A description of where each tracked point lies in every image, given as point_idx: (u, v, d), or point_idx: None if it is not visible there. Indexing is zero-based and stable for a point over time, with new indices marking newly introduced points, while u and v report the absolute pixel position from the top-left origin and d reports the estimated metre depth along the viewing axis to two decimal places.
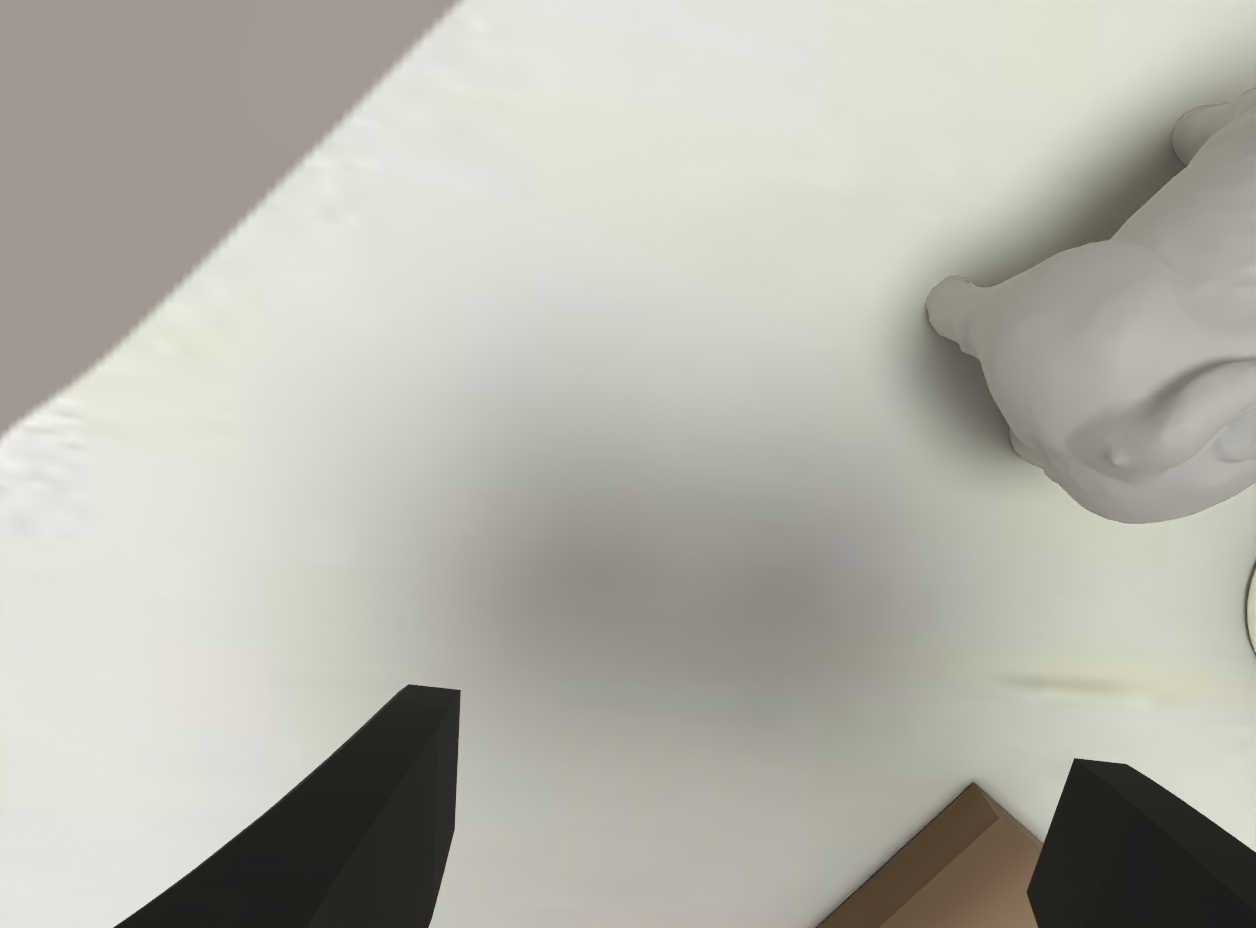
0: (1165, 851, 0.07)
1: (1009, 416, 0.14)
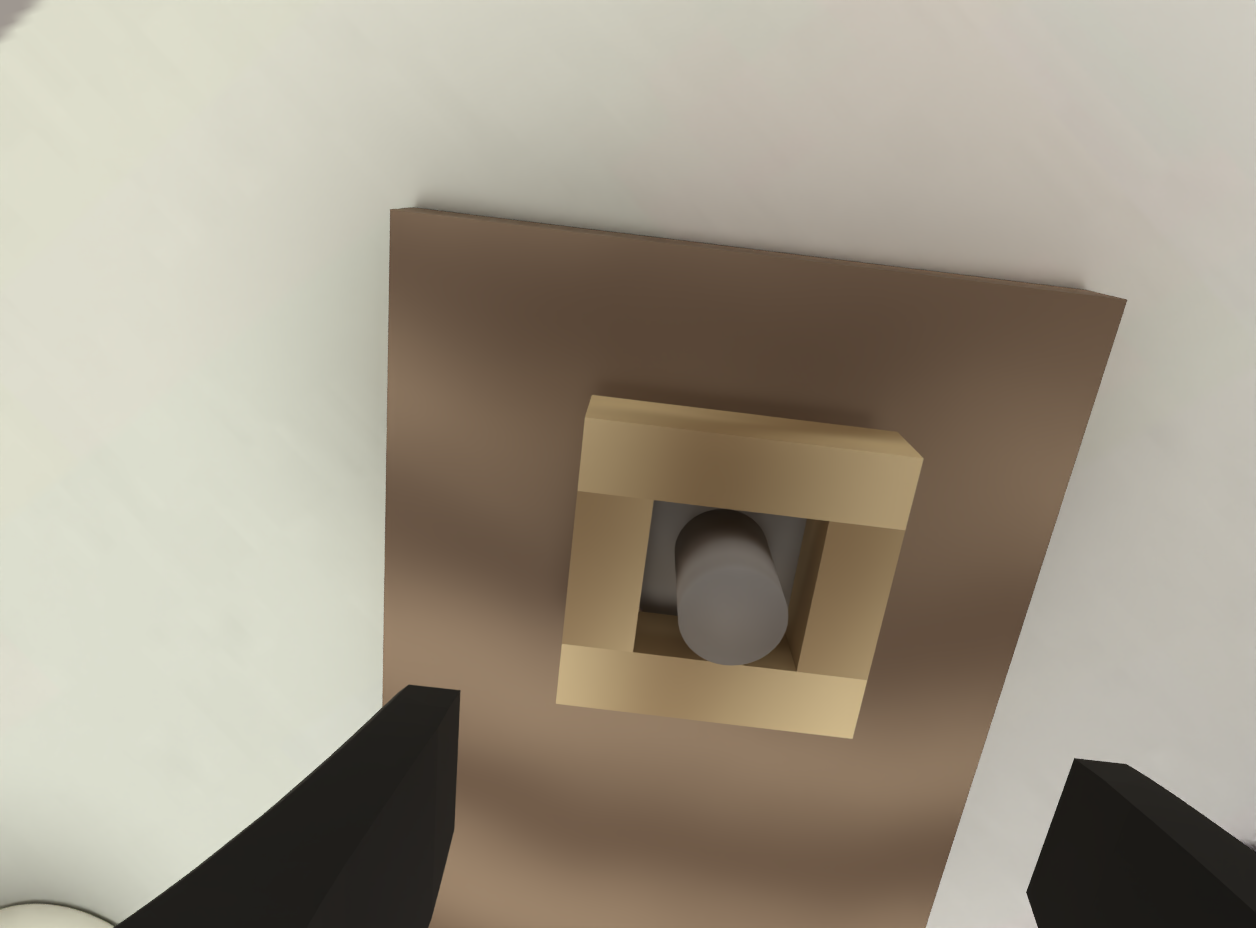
0: (1165, 850, 0.07)
1: None
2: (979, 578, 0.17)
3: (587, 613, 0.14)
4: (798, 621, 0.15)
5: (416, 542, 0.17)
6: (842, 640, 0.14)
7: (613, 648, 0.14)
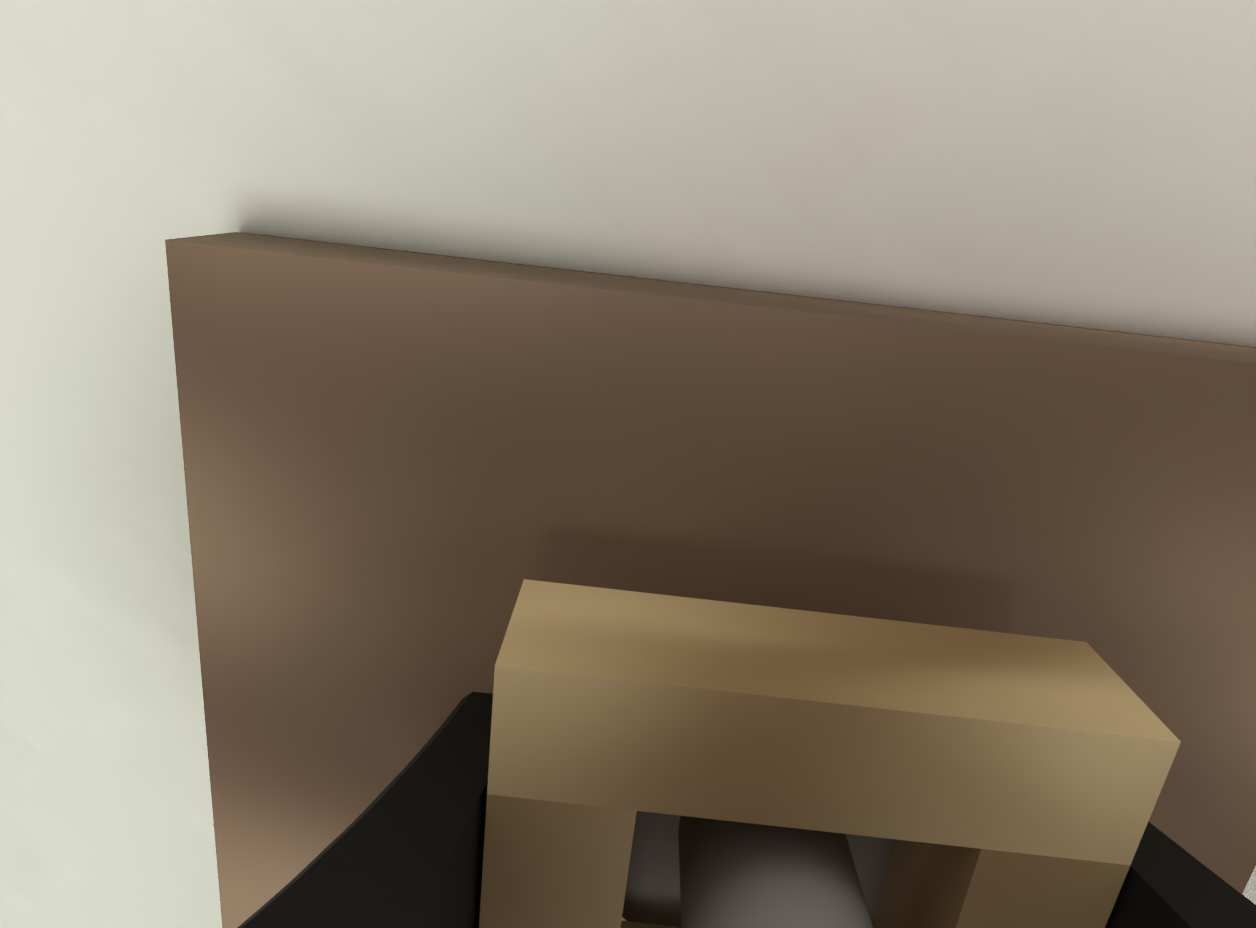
0: None
1: None
2: (1176, 828, 0.10)
3: None
4: None
5: (260, 772, 0.11)
6: None
7: None
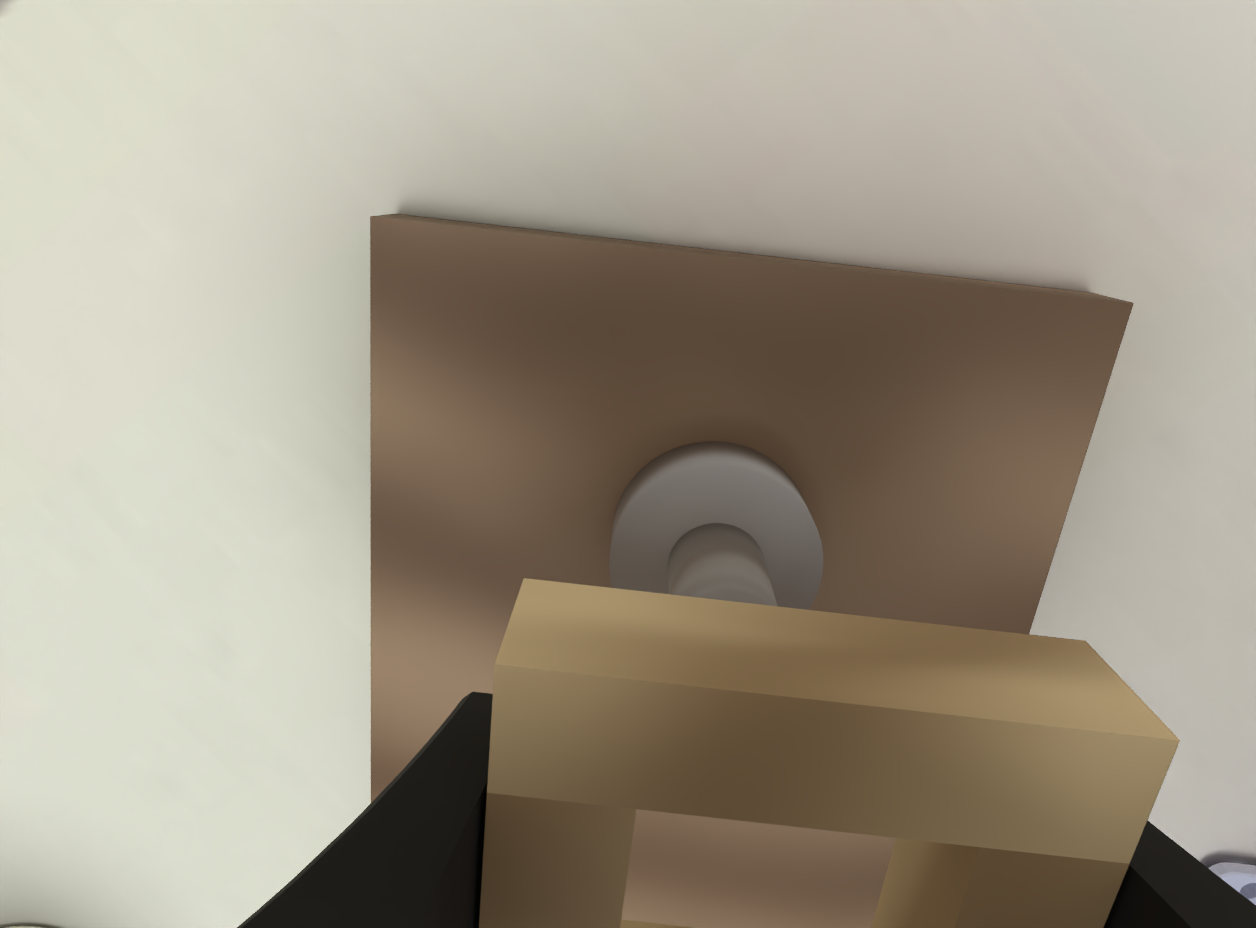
0: None
1: None
2: (983, 590, 0.16)
3: None
4: None
5: (403, 558, 0.17)
6: None
7: None
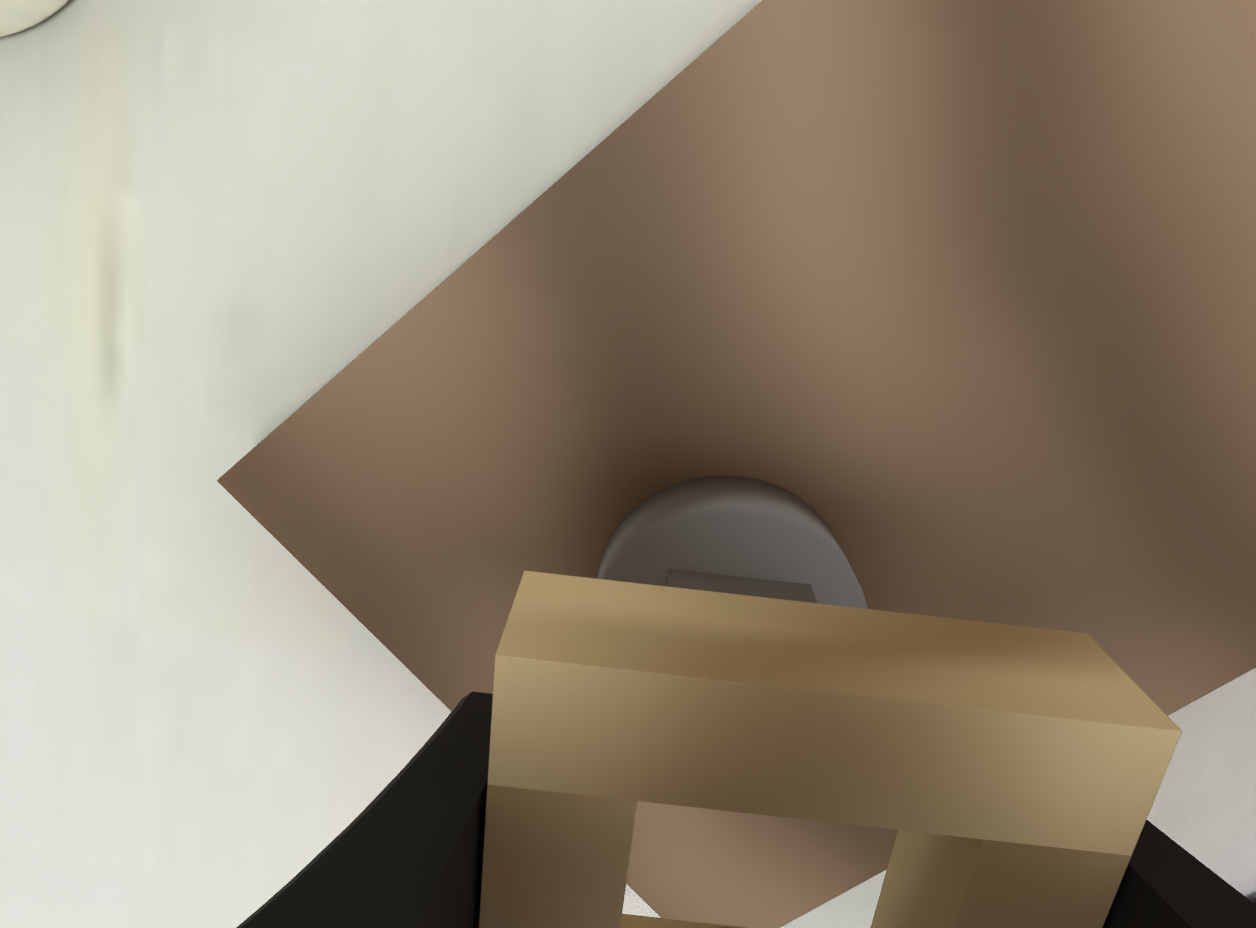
0: None
1: None
2: None
3: None
4: None
5: None
6: None
7: None
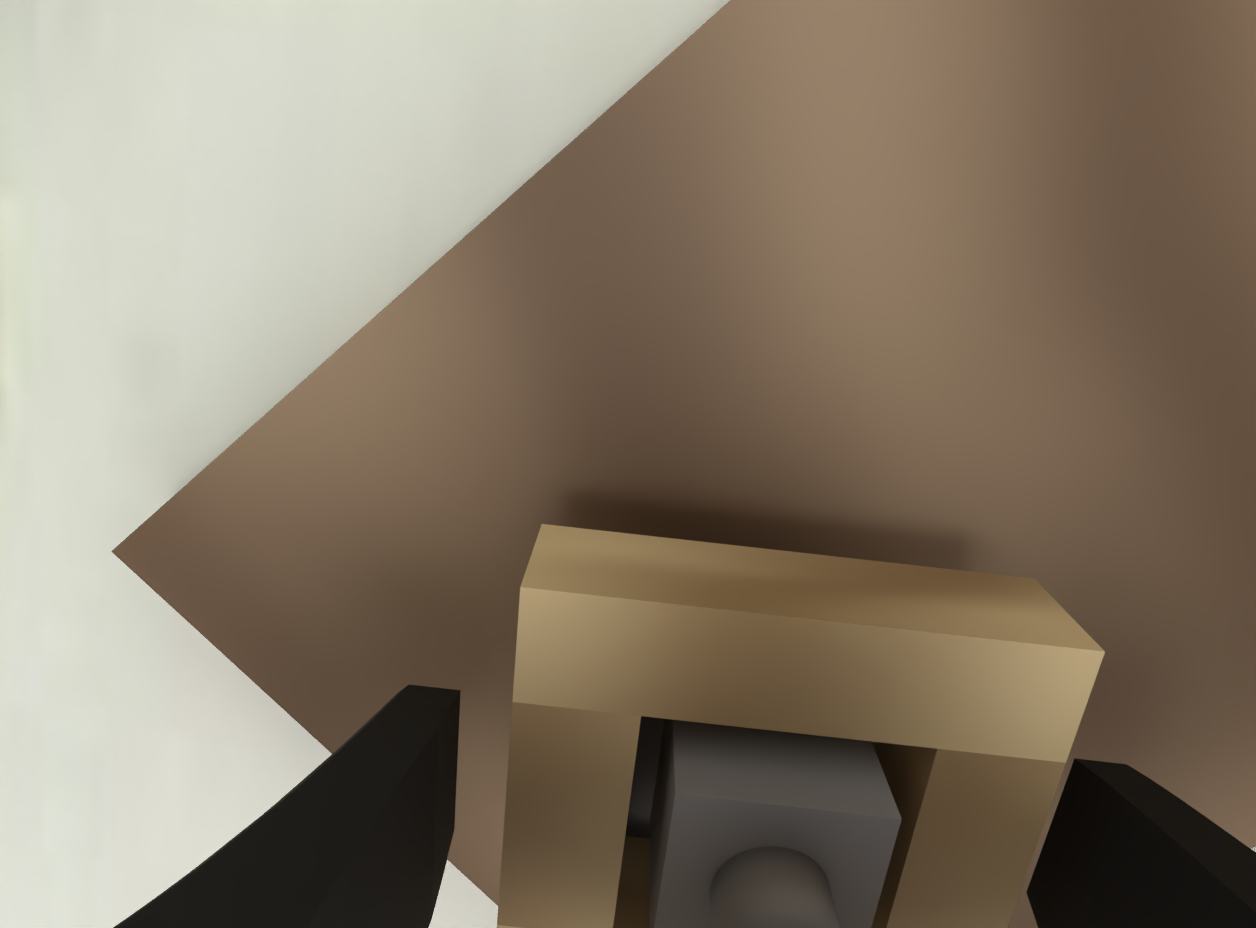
0: (1165, 851, 0.07)
1: None
2: None
3: (536, 882, 0.09)
4: None
5: None
6: (952, 923, 0.09)
7: None
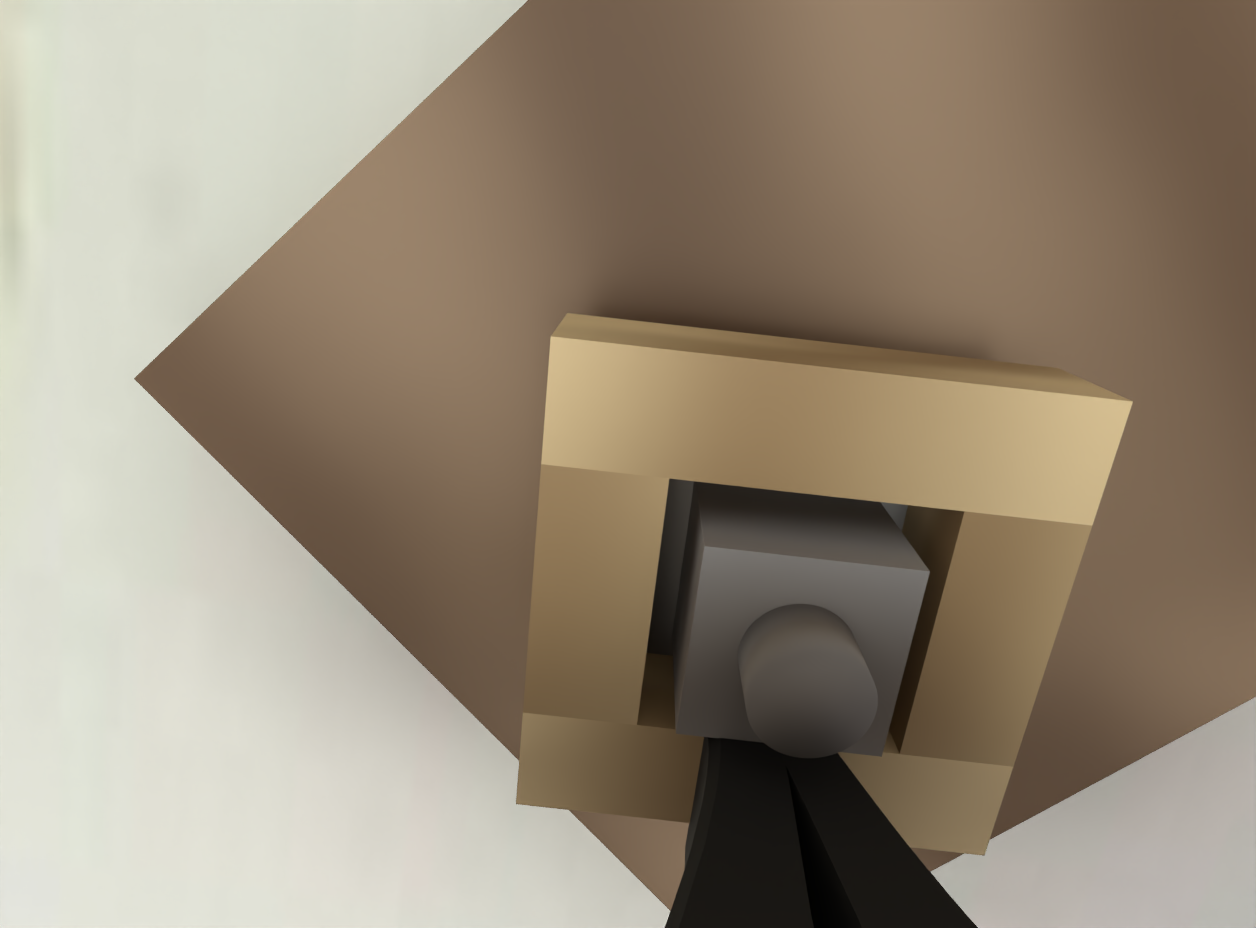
0: (798, 810, 0.07)
1: None
2: None
3: (562, 664, 0.09)
4: None
5: None
6: (975, 705, 0.09)
7: (605, 719, 0.09)
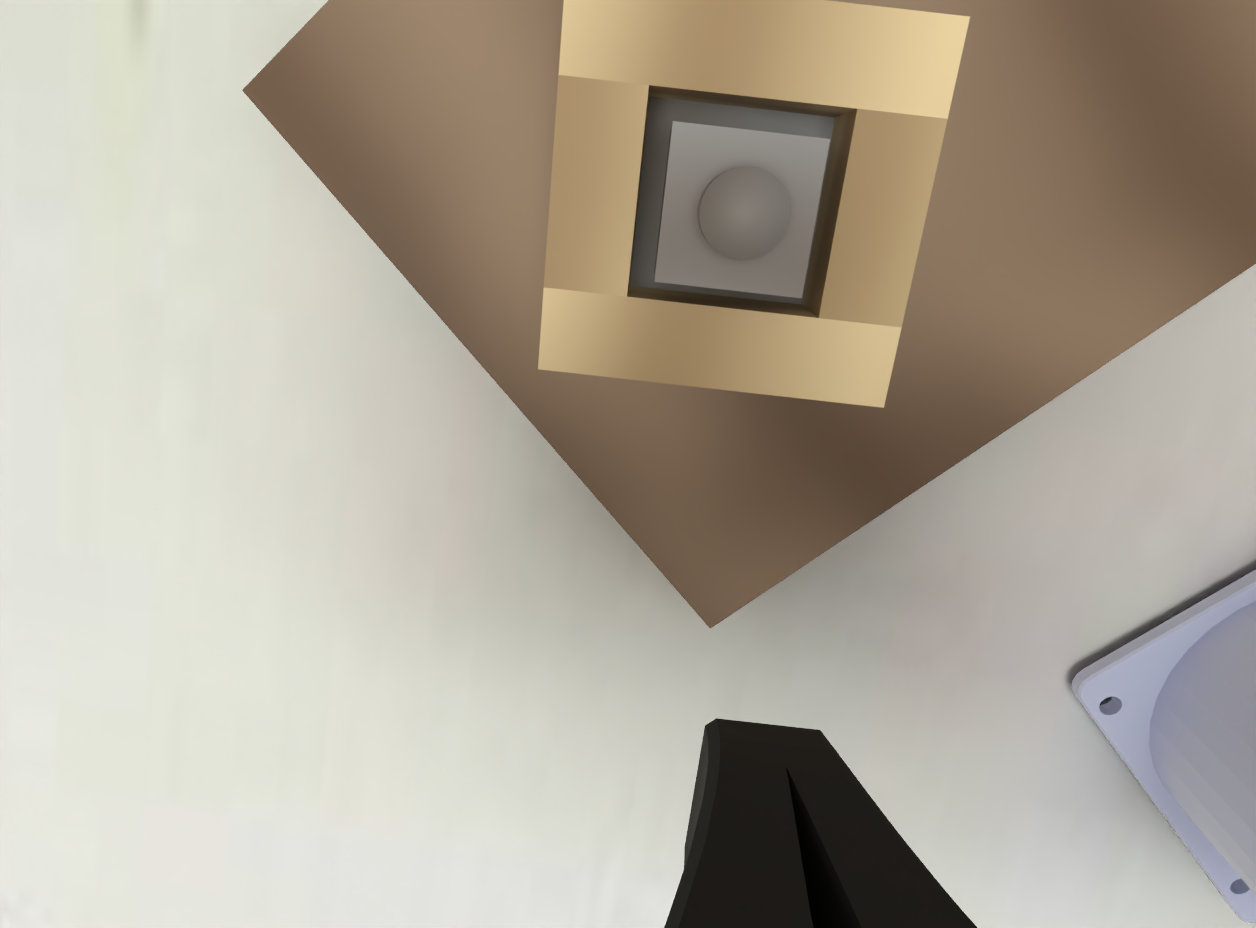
0: (797, 809, 0.07)
1: None
2: None
3: (572, 245, 0.12)
4: (818, 269, 0.13)
5: None
6: (872, 273, 0.12)
7: (603, 293, 0.12)
